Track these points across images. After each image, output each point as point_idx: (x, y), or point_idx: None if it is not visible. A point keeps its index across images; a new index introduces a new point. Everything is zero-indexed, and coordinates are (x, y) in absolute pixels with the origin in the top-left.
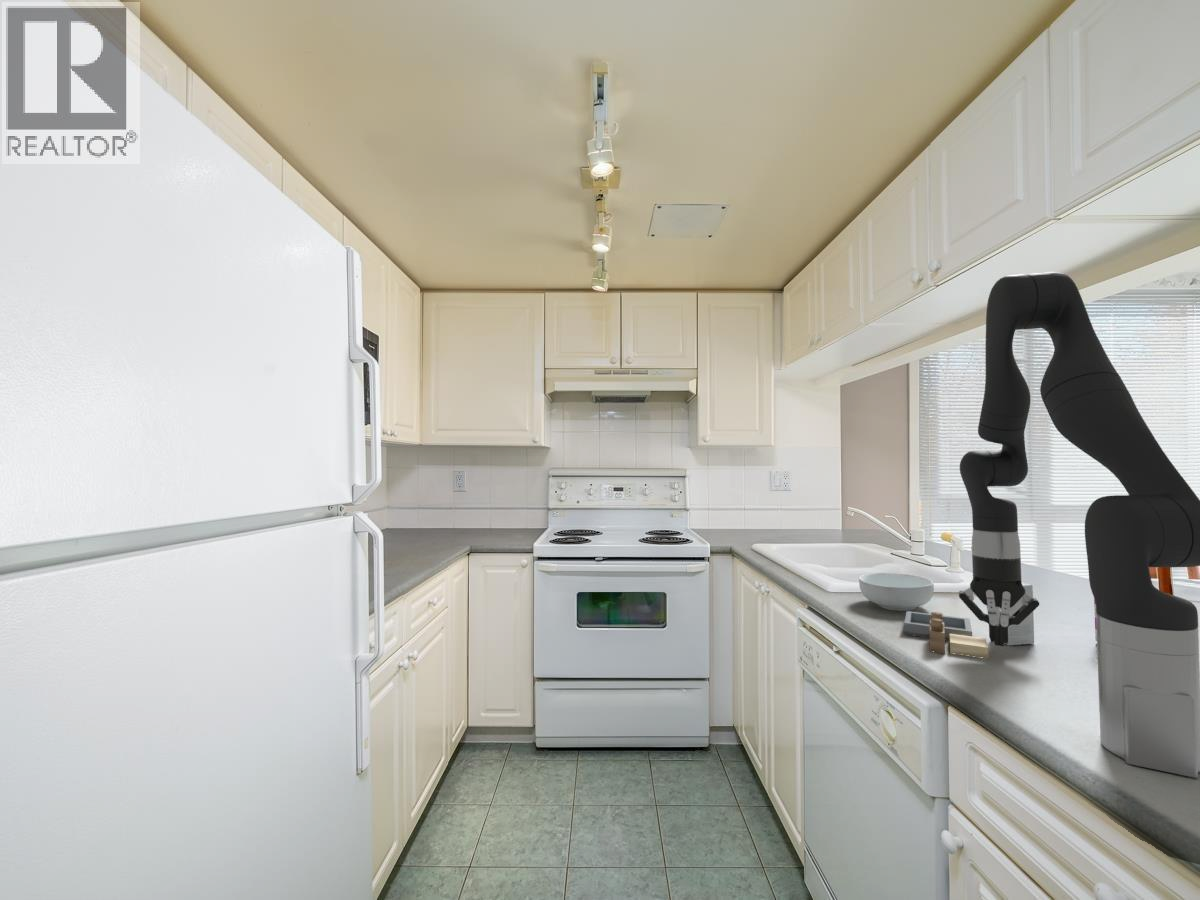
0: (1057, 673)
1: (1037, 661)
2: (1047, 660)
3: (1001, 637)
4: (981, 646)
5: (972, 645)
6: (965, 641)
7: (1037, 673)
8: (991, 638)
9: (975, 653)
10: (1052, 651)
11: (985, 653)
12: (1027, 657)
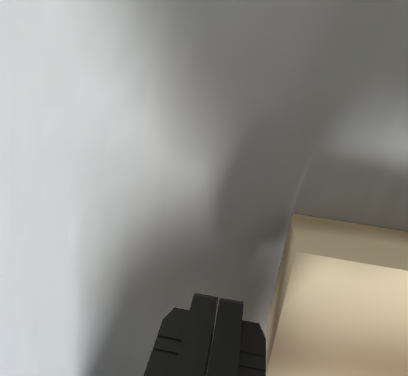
0: (3, 106)
1: (75, 247)
2: (39, 271)
3: (197, 334)
4: (332, 264)
5: (389, 268)
6: (406, 330)
7: (86, 63)
8: (256, 338)
9: (360, 234)
10: (22, 366)
11: (307, 231)
12: (108, 285)
